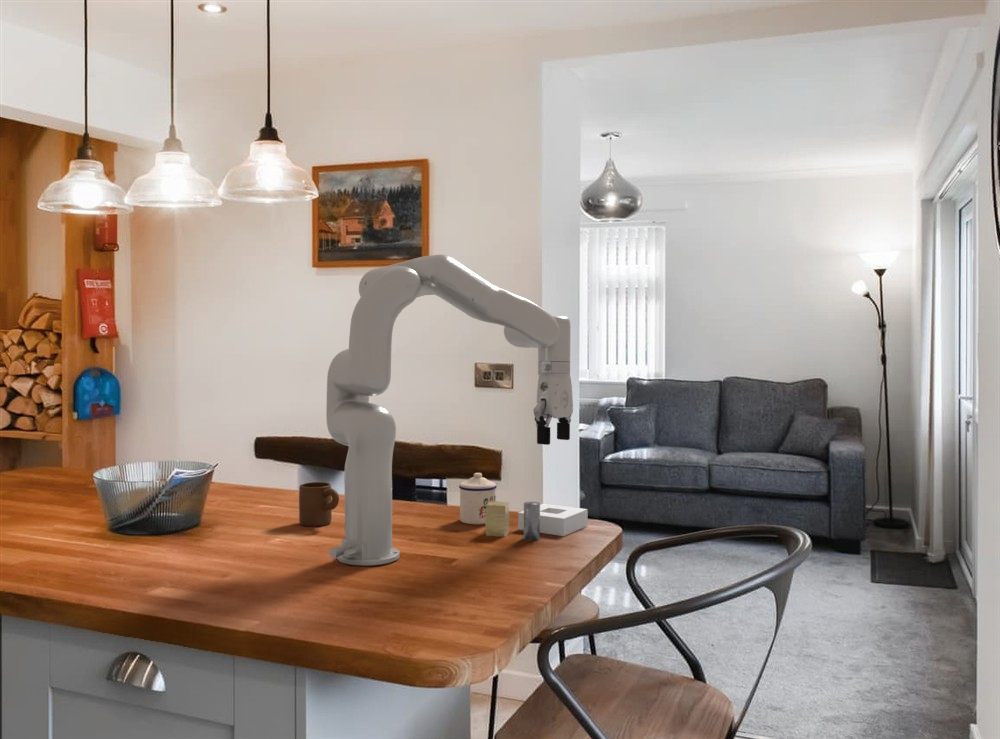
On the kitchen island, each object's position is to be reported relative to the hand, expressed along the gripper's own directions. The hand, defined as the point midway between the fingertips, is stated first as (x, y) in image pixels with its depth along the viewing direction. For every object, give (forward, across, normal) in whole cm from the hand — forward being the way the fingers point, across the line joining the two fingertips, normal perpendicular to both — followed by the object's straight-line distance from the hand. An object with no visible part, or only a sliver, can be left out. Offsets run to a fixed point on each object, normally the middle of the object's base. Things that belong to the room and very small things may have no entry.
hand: (553, 441), depth 203 cm
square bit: (+20, -12, +8) cm, 25 cm away
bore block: (+20, 0, 0) cm, 20 cm away
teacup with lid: (+20, -2, +19) cm, 28 cm away
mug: (+20, -27, +48) cm, 59 cm away
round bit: (+20, -12, -1) cm, 24 cm away
